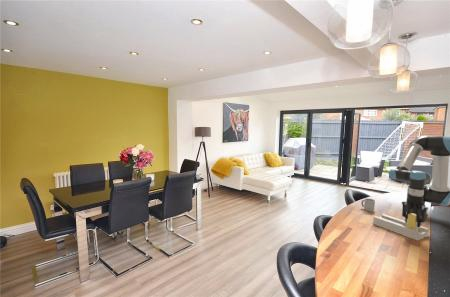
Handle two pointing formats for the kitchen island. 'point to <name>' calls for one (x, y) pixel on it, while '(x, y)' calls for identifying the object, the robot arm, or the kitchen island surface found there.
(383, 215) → the rail
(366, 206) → the cup
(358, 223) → the kitchen island surface
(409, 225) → the yellow juice carton
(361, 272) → the kitchen island surface
